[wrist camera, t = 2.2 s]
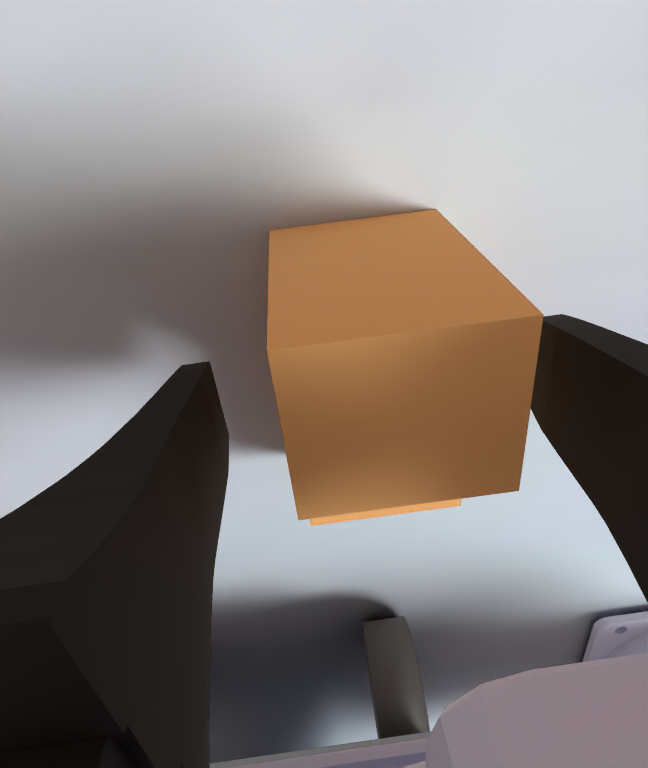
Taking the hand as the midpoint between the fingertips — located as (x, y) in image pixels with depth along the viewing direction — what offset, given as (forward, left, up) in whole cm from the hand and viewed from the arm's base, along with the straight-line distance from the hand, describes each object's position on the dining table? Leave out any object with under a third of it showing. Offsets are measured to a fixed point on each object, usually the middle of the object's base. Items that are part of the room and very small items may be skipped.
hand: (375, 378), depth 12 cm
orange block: (0, +1, -3) cm, 3 cm away
